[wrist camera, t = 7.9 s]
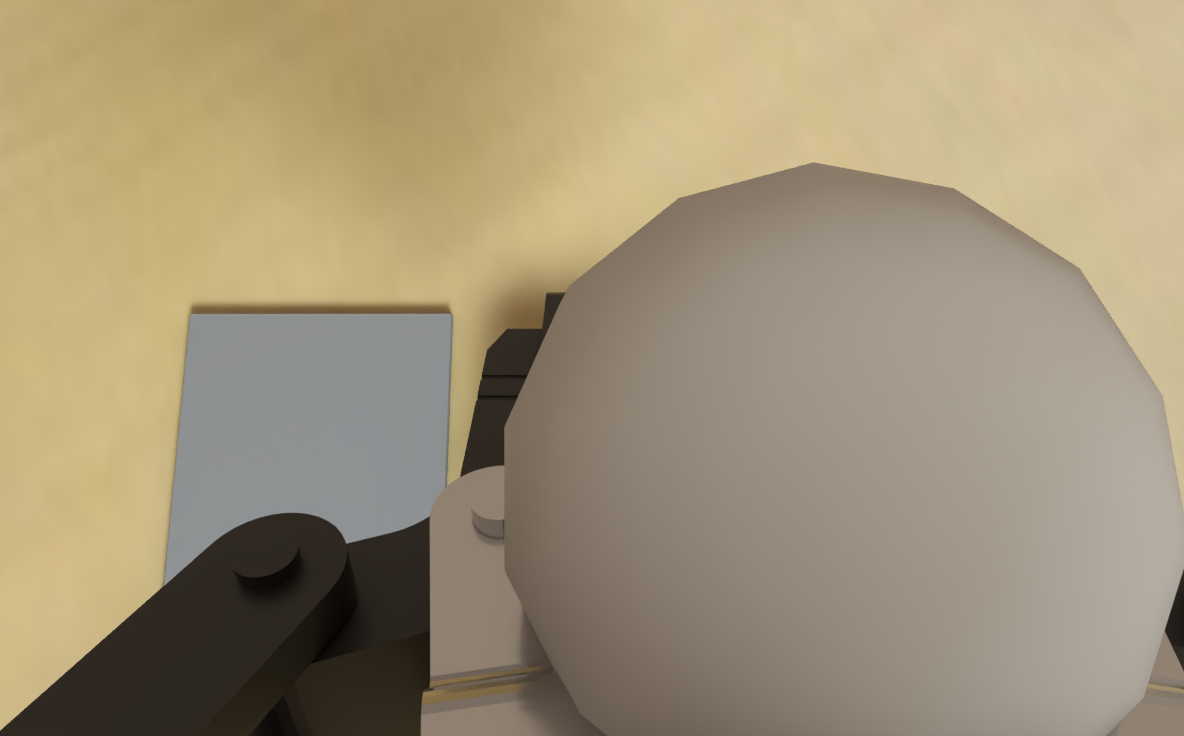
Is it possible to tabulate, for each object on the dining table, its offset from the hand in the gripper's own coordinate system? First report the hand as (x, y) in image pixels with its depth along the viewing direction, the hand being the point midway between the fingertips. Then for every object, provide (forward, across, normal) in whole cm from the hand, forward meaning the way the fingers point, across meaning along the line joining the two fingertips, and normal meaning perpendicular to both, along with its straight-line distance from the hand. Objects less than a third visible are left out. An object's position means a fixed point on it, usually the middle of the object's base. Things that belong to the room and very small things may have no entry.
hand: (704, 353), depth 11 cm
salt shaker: (+3, 0, +6) cm, 7 cm away
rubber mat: (+13, +12, +14) cm, 23 cm away
